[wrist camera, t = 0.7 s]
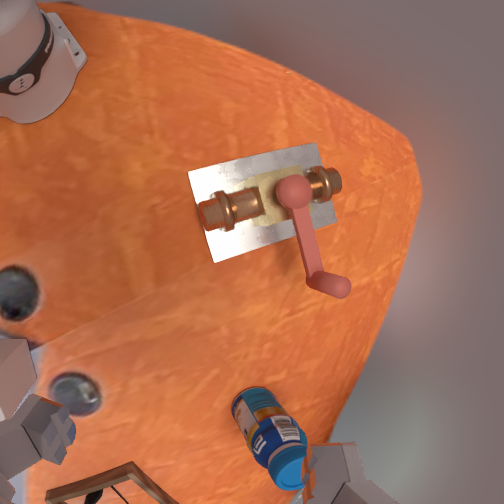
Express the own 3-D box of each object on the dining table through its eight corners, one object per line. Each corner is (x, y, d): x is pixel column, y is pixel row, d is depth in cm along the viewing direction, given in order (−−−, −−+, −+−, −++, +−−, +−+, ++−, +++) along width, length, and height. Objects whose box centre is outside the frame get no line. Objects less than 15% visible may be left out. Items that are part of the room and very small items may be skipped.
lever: (272, 180, 40) (295, 171, 34) (301, 172, 41) (329, 164, 35) (302, 293, 43) (329, 305, 36) (329, 282, 44) (358, 291, 37)
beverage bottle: (283, 403, 54) (338, 466, 35) (249, 430, 53) (291, 502, 34) (257, 376, 52) (309, 442, 33) (220, 406, 51) (256, 482, 32)
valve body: (213, 262, 48) (227, 270, 40) (187, 173, 46) (195, 160, 37) (334, 221, 54) (366, 221, 46) (313, 143, 52) (342, 130, 43)
